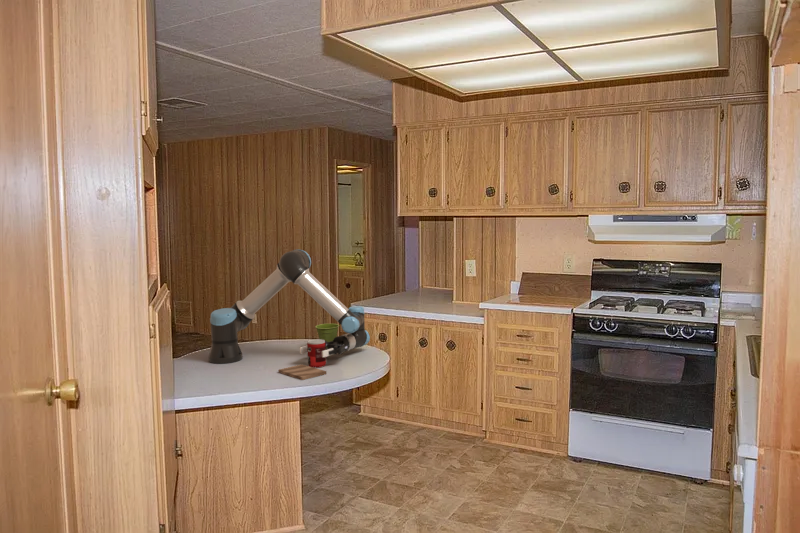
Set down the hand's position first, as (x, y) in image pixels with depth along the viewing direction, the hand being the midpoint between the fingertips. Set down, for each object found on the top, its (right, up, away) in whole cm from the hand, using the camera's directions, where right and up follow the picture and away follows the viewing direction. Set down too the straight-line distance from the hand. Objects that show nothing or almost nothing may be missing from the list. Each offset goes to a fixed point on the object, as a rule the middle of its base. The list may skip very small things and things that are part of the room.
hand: (311, 352), depth 266 cm
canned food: (+2, -6, +3) cm, 7 cm away
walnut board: (-2, -7, -9) cm, 12 cm away
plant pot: (+3, -3, +37) cm, 37 cm away
